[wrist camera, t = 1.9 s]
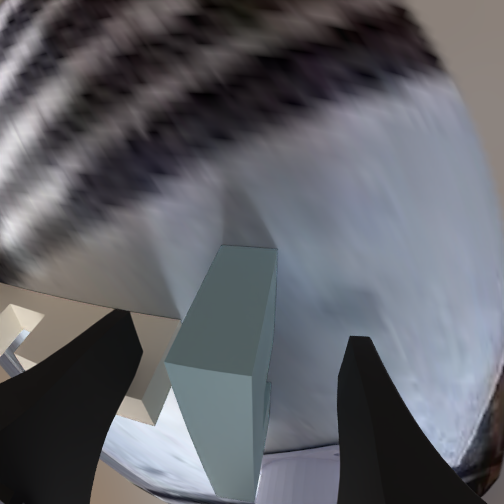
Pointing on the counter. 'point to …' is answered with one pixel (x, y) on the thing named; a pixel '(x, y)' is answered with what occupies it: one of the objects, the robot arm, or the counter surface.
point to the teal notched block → (228, 367)
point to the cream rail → (76, 322)
